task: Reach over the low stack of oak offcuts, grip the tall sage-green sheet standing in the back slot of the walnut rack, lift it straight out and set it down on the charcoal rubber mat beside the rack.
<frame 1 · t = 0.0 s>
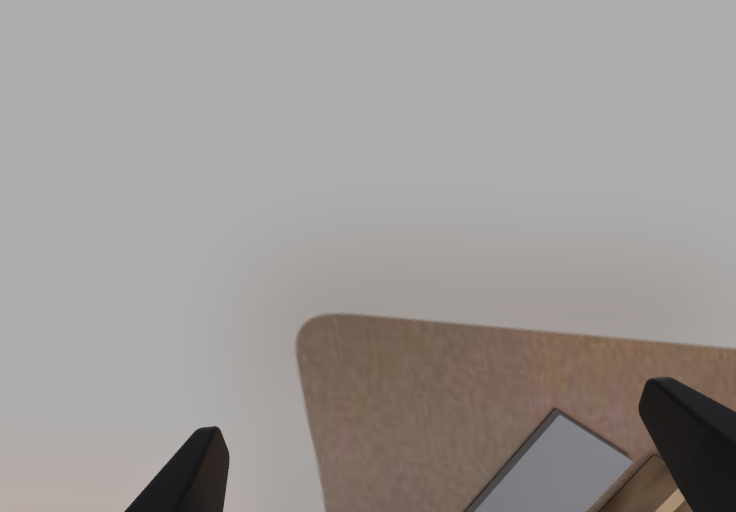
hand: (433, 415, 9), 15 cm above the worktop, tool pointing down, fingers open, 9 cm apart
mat: (534, 496, 28), on the worktop
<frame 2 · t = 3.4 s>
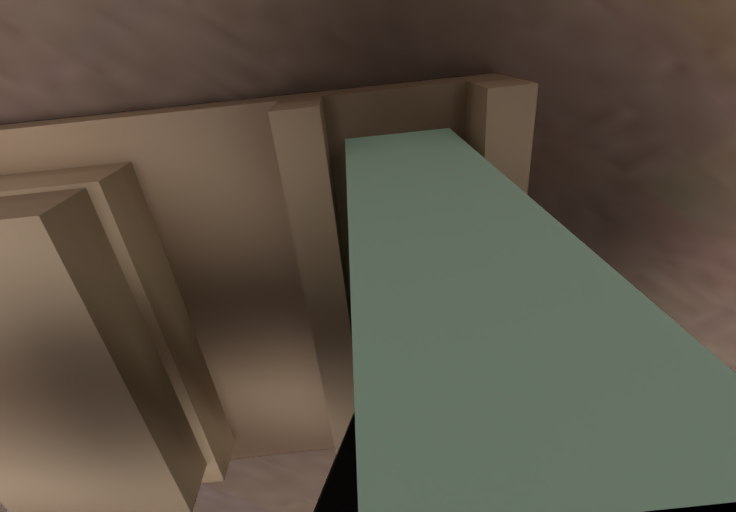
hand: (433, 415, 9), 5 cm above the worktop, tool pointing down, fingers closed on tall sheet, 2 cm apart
tall sheet: (406, 305, 12), point 1 cm above the worktop, touching gripper, rack
rack: (234, 305, 13), on the worktop
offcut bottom: (108, 337, 12), point 1 cm above the worktop, touching offcut top, rack
offcut top: (69, 363, 11), point 2 cm above the worktop, touching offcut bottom
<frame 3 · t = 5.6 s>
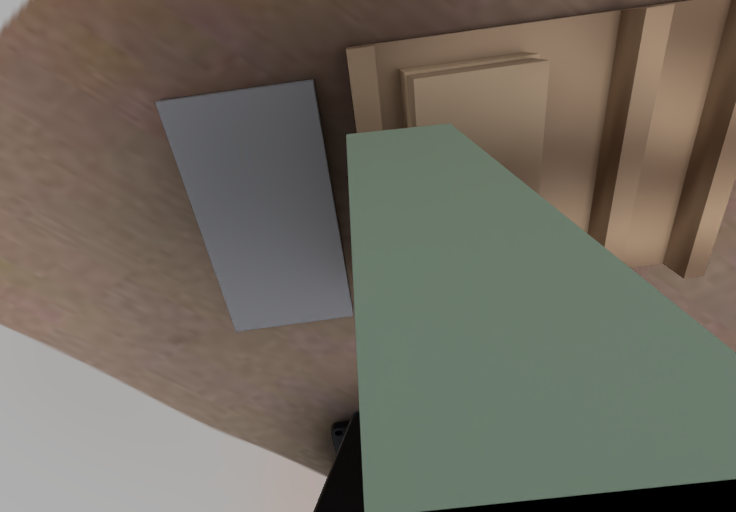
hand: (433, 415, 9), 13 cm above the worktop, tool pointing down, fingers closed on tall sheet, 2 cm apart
tall sheet: (407, 301, 12), point 9 cm above the worktop, touching gripper
rack: (530, 164, 20), on the worktop
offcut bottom: (462, 181, 19), point 1 cm above the worktop, touching offcut top, rack
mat: (270, 219, 20), on the worktop
offcut top: (469, 183, 17), point 2 cm above the worktop, touching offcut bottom
when the fingers open (6 cm above the worktop, at t = 7.8 s): tall sheet stays where it is, resting on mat.
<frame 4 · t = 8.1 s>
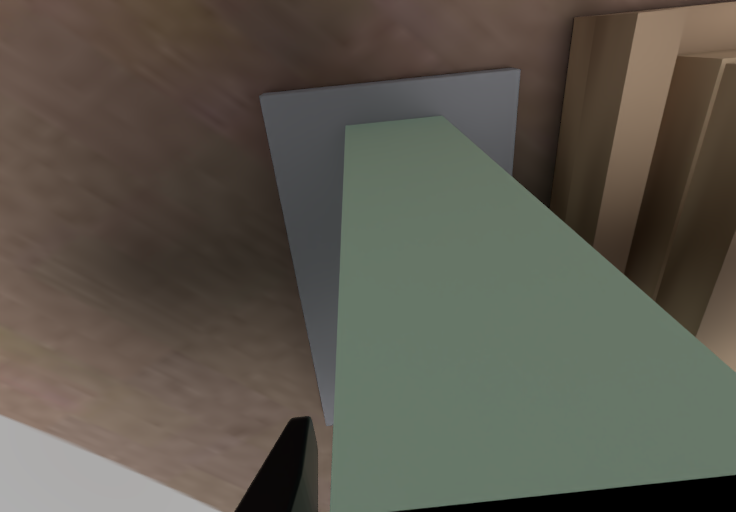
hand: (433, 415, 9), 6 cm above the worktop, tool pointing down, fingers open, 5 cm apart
tall sheet: (403, 284, 13), point 1 cm above the worktop, touching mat
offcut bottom: (710, 232, 12), point 1 cm above the worktop, touching offcut top, rack
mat: (399, 276, 14), on the worktop
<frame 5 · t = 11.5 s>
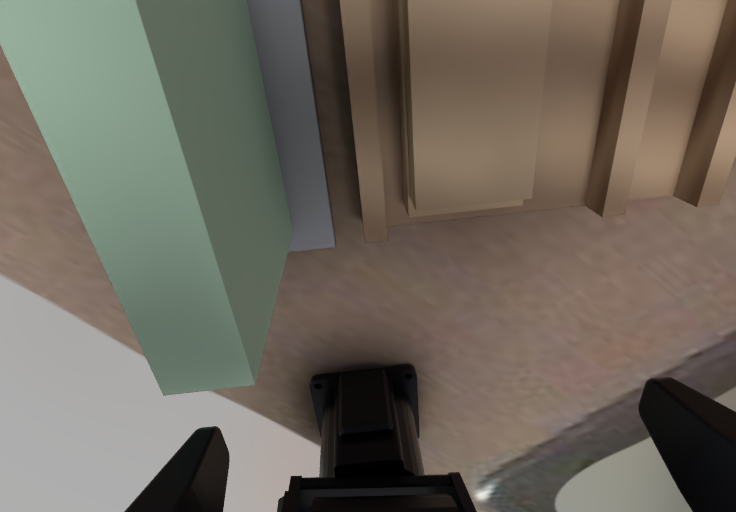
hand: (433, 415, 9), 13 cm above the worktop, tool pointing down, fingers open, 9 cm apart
tall sheet: (242, 129, 18), point 1 cm above the worktop, touching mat
rack: (533, 74, 18), on the worktop
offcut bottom: (458, 84, 17), point 1 cm above the worktop, touching offcut top, rack
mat: (245, 128, 18), on the worktop
offcut top: (466, 77, 15), point 2 cm above the worktop, touching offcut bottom
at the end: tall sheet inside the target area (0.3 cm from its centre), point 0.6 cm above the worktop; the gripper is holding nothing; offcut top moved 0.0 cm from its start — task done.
